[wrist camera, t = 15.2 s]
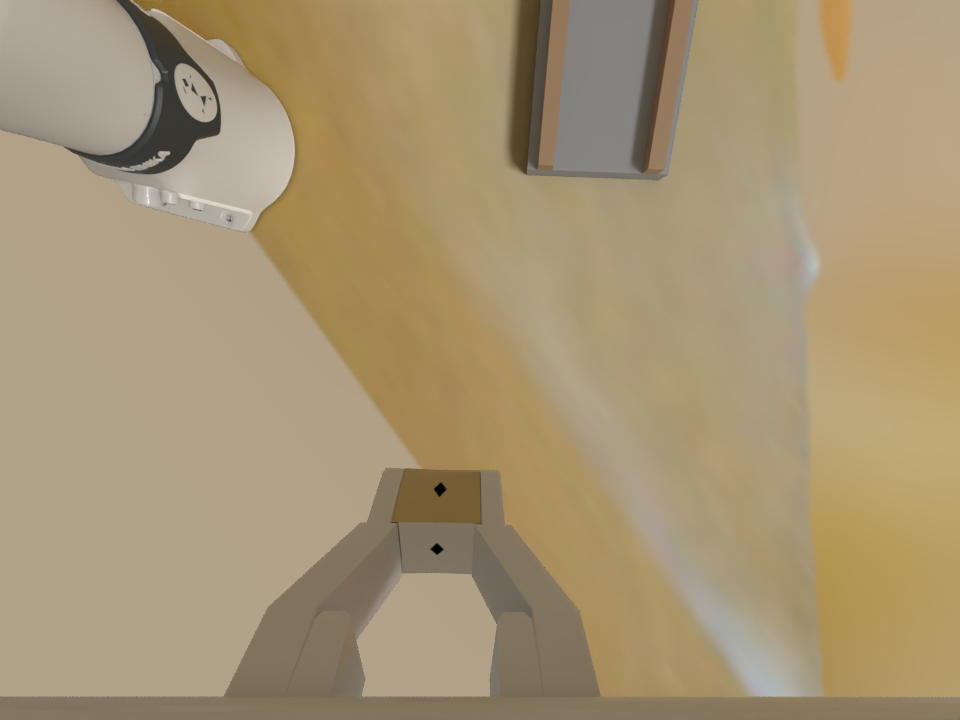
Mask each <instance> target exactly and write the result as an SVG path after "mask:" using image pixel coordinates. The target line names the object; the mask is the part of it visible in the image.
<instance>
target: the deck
mask: <svg viewBox="0 0 960 720" xmlns="http://www.w3.org/2000/svg"><path fill="white" fill-rule="evenodd" d="M697 5H698V0H541V1H540V13H539V25H538V38H537V50H536V62H535V75H534V87H533V99H532V111H531V124H530V136H529V148H528V160H527V173H526V175H541V176H567V177H594V178H620V179H646V180H660V179H662V178H663V177H665V176H666V175H668V171H669V165H670V159H671V154H672V148H673V142H674V137H675V131H676V125H677V120H678V114H679V108H680V102H681V97H682V91H683V85H684V80H685V74H686V68H687V62H688V57H689V51H690V45H691V40H692V34H693V28H694V23H695V17H696V11H697Z"/></svg>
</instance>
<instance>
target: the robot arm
mask: <svg viewBox="0 0 960 720" xmlns="http://www.w3.org/2000/svg"><path fill="white" fill-rule="evenodd" d="M0 130H3V131H7V132H11V133H15V134H19V135H23V136H27V137H31V138H35V139H38V140H42V141H46V142H50V143H53V144H57V145H60V146H63V147H65V148H66V149H68V150H70V151H71V152H73V153H75V154H78V155H79V157H80V158H81V160H82V161H83V162H84V164H85V165H86V166H87V167H88V169H90V170H91V171H92V172H93V173H94V174H96V175H98V176H102V177H106V178H110V179H114V180H115V182H116V183H117V185H118V187H119V189H120V191H121V192H122V193H123V195H124V196H125V197H126V199H127V200H128V201H130V202H132V203H135V204H138V205H141V206H145V207H148V208H152V209H156V210H160V211H164V212H167V213H171V214H175V215H179V216H182V217H186V218H190V219H194V220H198V221H202V222H205V223H209V224H213V225H217V226H220V227H224V228H228V229H232V230H235V231H239V232H244V233H245V232H249V231H250V230H251V229H252V228H253V227H254V225H255V223H256V221H257V219H258V217H259V215H260V213H261V212H262V211H263V210H264V209H265V208H266V207H267V206H269V205H270V204H271V203H273V202H274V201H275V200H276V199H277V198H278V197H279V196H280V195H281V193H282V192H283V191H284V189H285V188H286V186H287V184H288V182H289V179H290V177H291V174H292V170H293V166H294V157H295V145H294V137H293V132H292V128H291V124H290V121H289V119H288V116H287V114H286V112H285V110H284V108H283V106H282V104H281V103H280V101H279V100H278V98H277V97H276V96H275V94H274V93H273V92H272V91H271V90H270V89H269V88H268V87H267V86H266V85H265V84H264V83H263V82H261V81H260V80H259V79H258V78H256V77H255V76H254V75H252V74H251V73H250V72H249V71H248V70H247V69H246V67H245V66H244V64H243V62H242V61H241V59H240V57H239V56H238V54H237V53H236V52H235V50H234V49H233V48H232V47H231V46H230V45H228V44H227V43H225V42H224V41H222V40H220V39H212V40H208V41H206V40H205V39H203V38H202V37H200V36H199V35H197V34H196V33H194V32H193V31H191V30H190V29H188V28H187V27H185V26H184V25H182V24H181V23H179V22H178V21H176V20H174V19H173V18H171V17H170V16H168V15H167V14H165V13H164V12H162V11H160V10H157V9H153V8H152V9H151V10H150V11H145V10H144V9H143V8H142V7H141V6H140V5H138V4H137V3H135V2H134V1H133V0H0ZM231 216H232V221H231V219H230V217H231ZM437 572H438V573H456V574H472V577H473V579H474V581H475V583H476V585H477V587H478V589H479V591H480V593H481V595H482V596H483V598H484V600H485V602H486V604H487V606H488V608H489V610H490V612H491V614H492V616H493V618H494V620H495V621H496V624H497V628H496V635H495V643H494V650H493V658H492V665H491V673H490V697H362V691H363V687H364V682H365V676H364V672H363V668H362V663H361V659H360V654H359V650H358V646H357V642H356V640H357V639H358V637H359V636H360V634H361V633H362V632H363V630H364V629H365V627H366V626H367V625H368V623H369V622H370V620H371V619H372V618H373V616H374V615H375V613H376V612H377V611H378V609H379V608H380V606H381V605H382V604H383V602H384V601H385V599H386V598H387V597H388V595H389V594H390V593H391V591H392V590H393V588H394V587H395V585H396V584H397V583H398V581H399V580H400V579H401V577H402V573H437ZM0 720H960V697H601V696H600V692H599V688H598V684H597V680H596V675H595V671H594V667H593V663H592V659H591V655H590V651H589V647H588V643H587V639H586V635H585V631H584V627H583V623H582V619H581V615H580V611H579V610H578V609H577V607H576V606H575V605H574V604H573V602H572V601H571V600H570V599H569V597H568V596H567V595H566V594H565V592H564V591H563V590H562V589H561V587H560V586H559V585H558V584H557V582H556V581H555V580H554V579H553V577H552V576H551V575H550V574H549V572H548V571H547V570H546V568H545V567H544V566H543V565H542V563H541V562H540V561H539V560H538V558H537V557H536V556H535V555H534V553H533V552H532V551H531V550H530V548H529V547H528V546H527V545H526V543H525V542H524V541H523V540H522V538H521V537H520V536H519V535H518V533H517V532H516V531H515V530H514V528H513V527H512V526H511V525H505V520H504V509H503V498H502V487H501V477H500V472H499V471H498V470H429V469H407V468H406V469H400V468H386V469H385V471H384V472H383V474H382V477H381V481H380V483H379V486H378V490H377V493H376V496H375V499H374V502H373V505H372V508H371V511H370V515H369V517H368V521H367V523H360V524H359V525H357V526H356V527H355V528H354V529H353V530H352V531H351V532H350V533H349V534H348V535H347V536H345V537H344V538H343V539H342V540H341V541H340V542H339V543H338V544H337V545H336V546H335V547H333V548H332V549H331V550H330V551H329V552H328V553H327V554H326V555H325V556H324V557H322V558H321V559H320V560H319V561H318V562H317V563H316V564H315V565H314V566H313V567H312V568H311V569H309V570H308V571H307V572H306V573H305V574H304V575H303V576H302V577H301V578H300V579H298V580H297V581H296V582H295V583H294V584H293V585H292V586H291V587H290V588H289V589H287V590H286V591H285V592H284V593H283V594H282V595H281V596H280V597H279V598H278V599H277V600H275V601H274V602H273V603H272V604H271V605H270V606H269V607H268V608H267V610H266V612H265V614H264V616H263V618H262V620H261V622H260V624H259V627H258V628H257V630H256V632H255V635H254V636H253V638H252V640H251V643H250V644H249V646H248V648H247V650H246V652H245V654H244V656H243V658H242V661H241V663H240V664H239V666H238V669H237V671H236V673H235V675H234V677H233V679H232V681H231V683H230V685H229V687H228V689H227V691H226V693H225V695H224V697H0Z"/></svg>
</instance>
